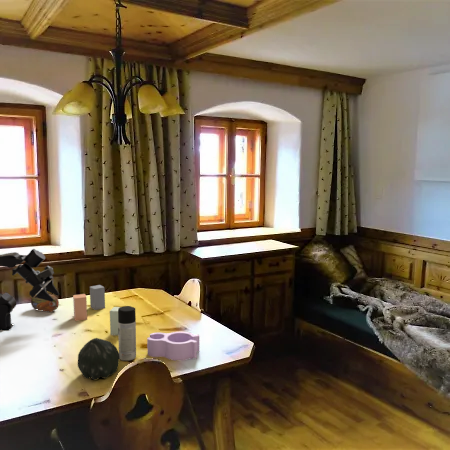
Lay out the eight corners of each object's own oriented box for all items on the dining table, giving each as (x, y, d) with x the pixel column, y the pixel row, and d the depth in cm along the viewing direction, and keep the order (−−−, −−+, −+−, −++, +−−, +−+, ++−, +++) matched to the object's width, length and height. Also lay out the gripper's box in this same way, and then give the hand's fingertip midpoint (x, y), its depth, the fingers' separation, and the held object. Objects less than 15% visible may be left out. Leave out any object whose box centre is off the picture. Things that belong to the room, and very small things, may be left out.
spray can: (128, 352, 187) (127, 304, 184) (140, 357, 183) (139, 308, 180) (115, 358, 182) (113, 308, 179) (126, 363, 177) (125, 312, 174)
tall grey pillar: (105, 307, 240) (104, 287, 238) (94, 310, 237) (94, 289, 235) (100, 305, 244) (99, 284, 243) (90, 307, 241) (89, 286, 239)
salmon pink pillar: (87, 319, 224) (86, 297, 222) (75, 320, 221) (74, 298, 220) (85, 315, 229) (84, 293, 227) (74, 317, 226) (73, 295, 225)
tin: (30, 309, 237) (30, 293, 235) (35, 307, 240) (34, 292, 238) (56, 312, 232) (55, 296, 231) (60, 310, 235) (59, 294, 234)
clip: (144, 359, 181) (144, 342, 180) (152, 346, 194) (152, 330, 192) (195, 361, 179) (195, 344, 178) (200, 348, 191) (200, 332, 190)
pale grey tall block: (122, 335, 204) (122, 311, 202) (110, 335, 204) (109, 310, 203) (126, 330, 209) (126, 307, 208) (114, 330, 210) (113, 306, 208)
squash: (120, 347, 179) (93, 323, 172) (132, 364, 166) (103, 339, 159) (92, 376, 175) (64, 353, 169) (102, 395, 162) (71, 372, 156)
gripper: (35, 267, 200) (63, 291, 203) (47, 257, 218) (73, 280, 221) (17, 285, 200) (45, 309, 203) (31, 274, 219) (56, 296, 221)
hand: (55, 297), depth 212 cm, fingers open, 9 cm apart
